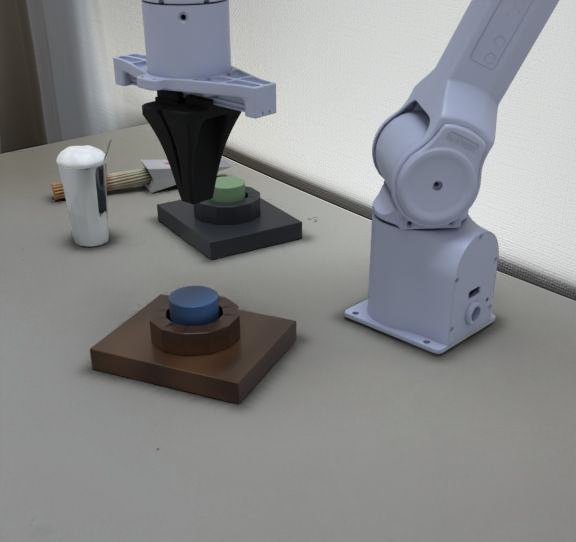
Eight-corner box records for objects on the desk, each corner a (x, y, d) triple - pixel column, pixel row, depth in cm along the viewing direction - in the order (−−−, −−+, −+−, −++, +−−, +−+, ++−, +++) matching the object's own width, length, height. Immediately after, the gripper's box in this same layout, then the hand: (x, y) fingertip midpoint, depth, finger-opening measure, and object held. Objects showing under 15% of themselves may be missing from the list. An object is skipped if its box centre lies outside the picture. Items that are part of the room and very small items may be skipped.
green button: (252, 201, 85) (251, 183, 84) (219, 208, 83) (218, 190, 82) (234, 191, 88) (233, 173, 87) (202, 197, 86) (201, 180, 85)
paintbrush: (232, 155, 98) (53, 184, 92) (234, 179, 99) (58, 209, 93) (222, 146, 101) (48, 173, 95) (224, 169, 102) (52, 197, 97)
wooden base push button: (296, 340, 67) (296, 299, 65) (239, 404, 59) (237, 359, 58) (162, 312, 71) (159, 273, 69) (91, 369, 64) (85, 326, 62)
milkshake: (113, 252, 82) (101, 146, 77) (60, 247, 83) (44, 143, 78) (130, 234, 86) (119, 132, 81) (79, 230, 87) (65, 129, 82)
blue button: (227, 311, 65) (227, 290, 64) (204, 332, 62) (203, 310, 61) (185, 303, 66) (184, 282, 65) (160, 323, 63) (158, 301, 62)
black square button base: (302, 238, 85) (302, 203, 83) (210, 259, 80) (209, 223, 79) (243, 202, 94) (242, 170, 92) (157, 220, 89) (155, 186, 87)
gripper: (69, -5, 59) (93, 190, 66) (216, 18, 50) (225, 239, 57) (150, -15, 63) (165, 169, 70) (298, 4, 55) (298, 211, 62)
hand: (197, 199), depth 64 cm, fingers closed
